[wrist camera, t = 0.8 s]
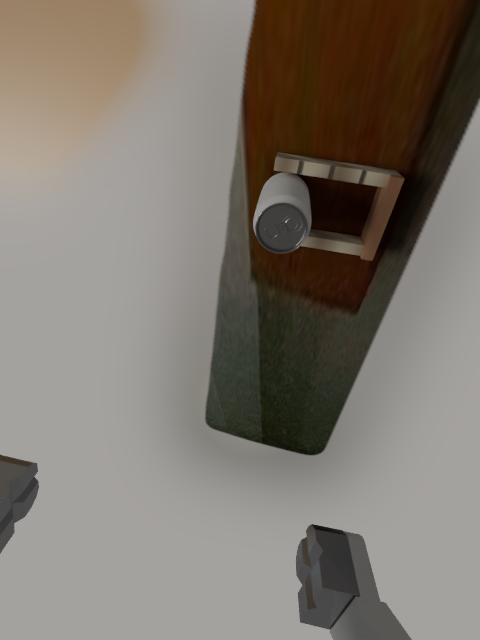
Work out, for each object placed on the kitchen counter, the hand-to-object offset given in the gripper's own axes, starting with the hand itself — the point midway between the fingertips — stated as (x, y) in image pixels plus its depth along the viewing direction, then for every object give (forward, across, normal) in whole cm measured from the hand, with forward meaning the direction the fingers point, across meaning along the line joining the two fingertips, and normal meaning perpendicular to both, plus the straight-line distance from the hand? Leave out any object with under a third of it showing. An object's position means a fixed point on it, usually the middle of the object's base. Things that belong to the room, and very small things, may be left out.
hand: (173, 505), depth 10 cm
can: (+42, -4, -6) cm, 43 cm away
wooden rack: (+42, -9, -6) cm, 43 cm away
